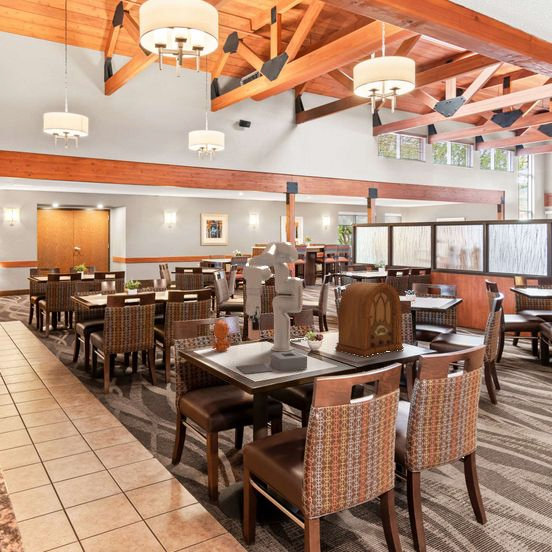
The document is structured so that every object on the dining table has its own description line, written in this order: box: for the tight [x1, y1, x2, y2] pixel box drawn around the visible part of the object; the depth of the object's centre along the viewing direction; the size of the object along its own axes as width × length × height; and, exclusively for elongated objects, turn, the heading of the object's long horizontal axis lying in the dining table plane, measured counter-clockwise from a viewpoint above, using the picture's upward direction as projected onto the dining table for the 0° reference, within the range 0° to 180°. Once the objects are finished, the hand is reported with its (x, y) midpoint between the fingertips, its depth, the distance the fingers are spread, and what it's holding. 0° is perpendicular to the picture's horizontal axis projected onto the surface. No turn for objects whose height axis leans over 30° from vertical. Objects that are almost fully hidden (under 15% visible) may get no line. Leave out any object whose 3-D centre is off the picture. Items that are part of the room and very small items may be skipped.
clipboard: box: [263, 333, 305, 343], centre depth 314 cm, size 19×2×30 cm
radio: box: [334, 281, 405, 358], centre depth 278 cm, size 33×23×40 cm
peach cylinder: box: [247, 317, 261, 341], centre depth 234 cm, size 5×5×10 cm
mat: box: [236, 363, 273, 375], centre depth 235 cm, size 14×14×1 cm
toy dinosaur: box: [211, 319, 232, 352], centre depth 277 cm, size 11×11×18 cm
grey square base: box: [270, 350, 308, 372], centre depth 241 cm, size 14×14×6 cm
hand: (253, 328), depth 234 cm, fingers closed on peach cylinder, 4 cm apart
